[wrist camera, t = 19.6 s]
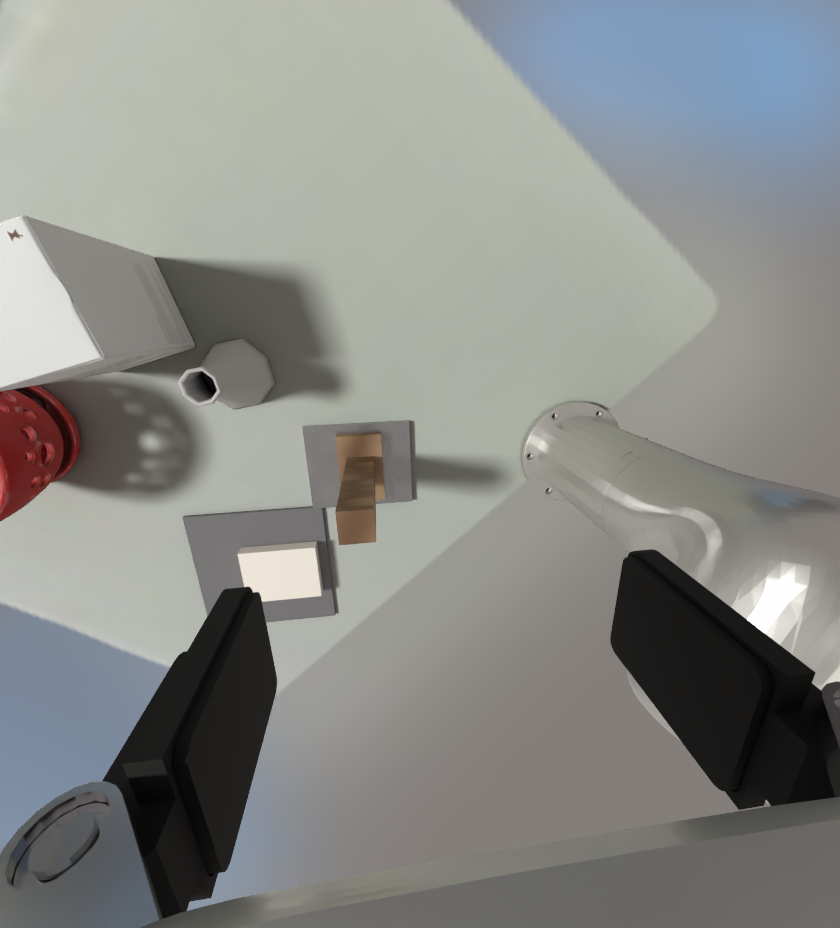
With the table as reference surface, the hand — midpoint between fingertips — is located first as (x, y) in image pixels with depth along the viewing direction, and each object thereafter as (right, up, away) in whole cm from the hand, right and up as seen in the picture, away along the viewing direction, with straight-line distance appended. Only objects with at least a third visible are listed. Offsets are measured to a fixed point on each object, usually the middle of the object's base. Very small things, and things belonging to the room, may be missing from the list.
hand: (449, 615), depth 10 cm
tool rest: (-8, +4, +36) cm, 37 cm away
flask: (-20, +14, +32) cm, 40 cm away
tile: (-22, -10, +38) cm, 45 cm away
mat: (-20, -9, +39) cm, 45 cm away
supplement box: (-29, +19, +29) cm, 45 cm away
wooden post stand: (-8, +4, +36) cm, 37 cm away
